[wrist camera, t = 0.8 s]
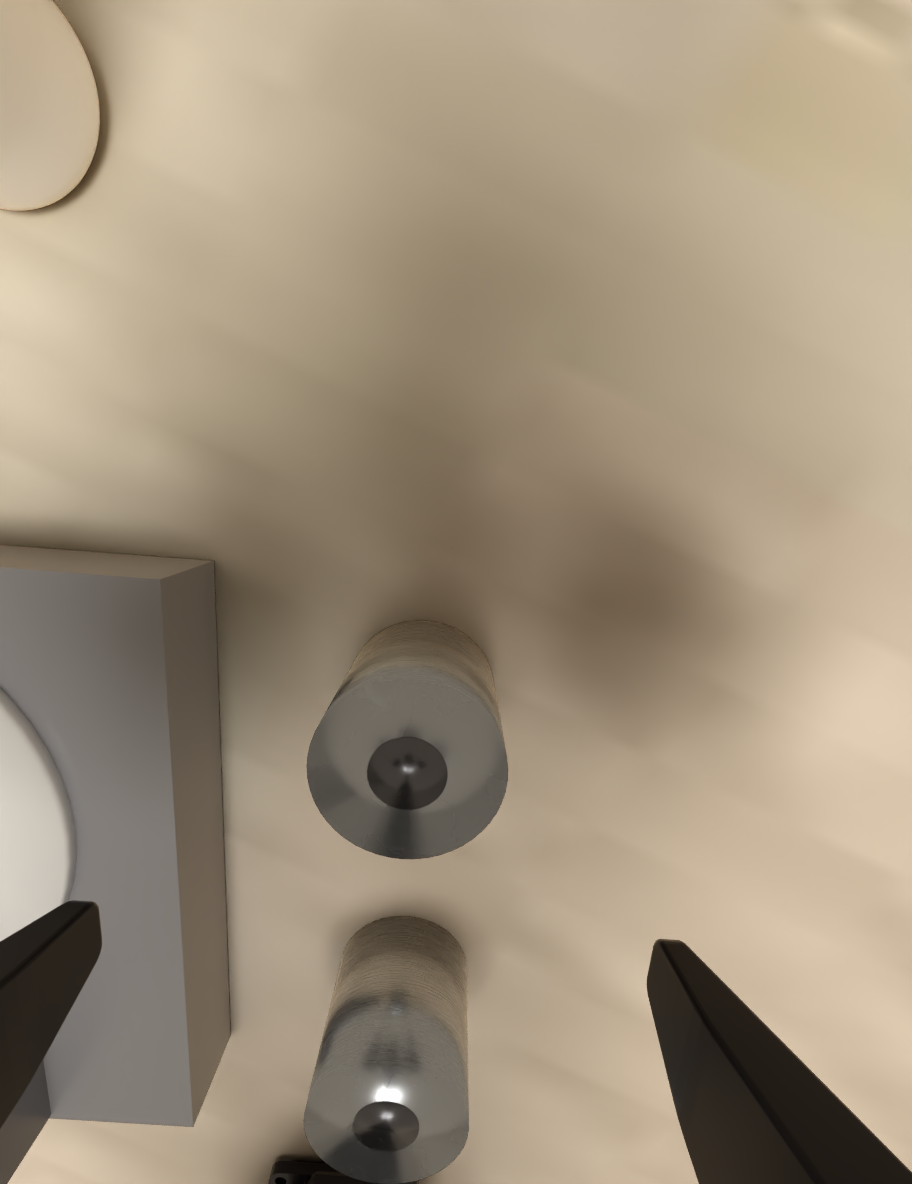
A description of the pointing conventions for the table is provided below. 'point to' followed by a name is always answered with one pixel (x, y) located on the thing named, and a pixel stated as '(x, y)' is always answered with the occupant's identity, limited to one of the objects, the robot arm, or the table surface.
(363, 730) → the cylinder
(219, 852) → the kitchen scale
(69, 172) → the drinking glass
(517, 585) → the table surface
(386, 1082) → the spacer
